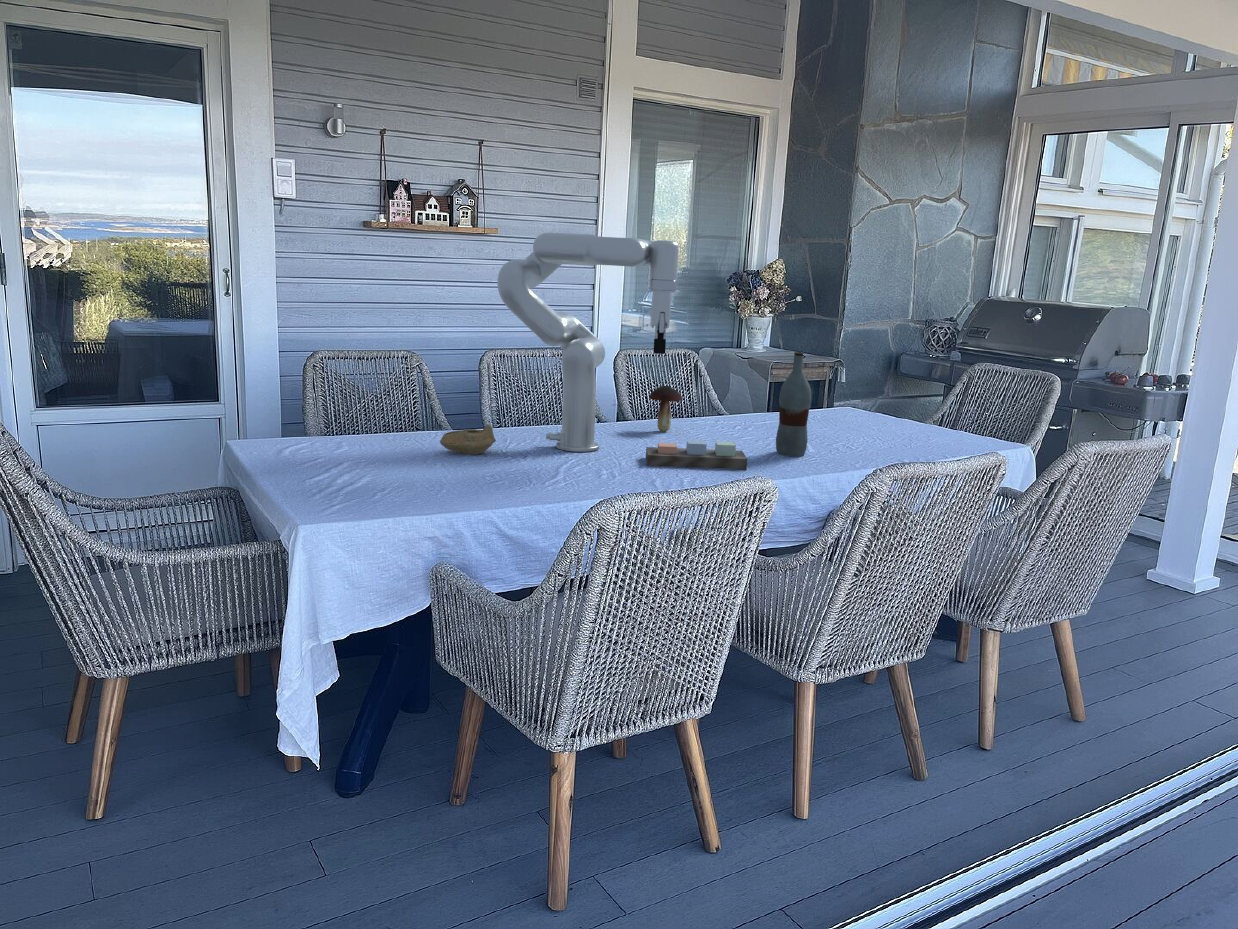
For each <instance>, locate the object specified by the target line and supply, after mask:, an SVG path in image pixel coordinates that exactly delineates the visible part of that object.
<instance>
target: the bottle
mask: <svg viewBox="0 0 1238 929" xmlns="http://www.w3.org/2000/svg"><path fill="white" fill-rule="evenodd" d="M804 353H805V352H802V351H794V353H793V354H794V355H793V364H792V365H793V366H792V371H791V372H790V373H789V375H788V376H787V378H786V380H784V382H782V385H781V388H780V391H779V397H778V402H779V404H778V406H779V408H778V409H779V412H778V413H779V414H778V415H779V416H778V417H779V418H778V419H779V420H778V421H779V422H778V427H777V432H776V437H775V449H776V453H777V454H778V455H781V456H786V457H804V455H805V453H806V451H807V446H808V443H809V442H808V420H809V419H808V418H809V413H810V407H811V403H812V389H811V385H810V383H809V382H808V380H807V377H806V376H805V373H804V372H803V363H804Z"/></svg>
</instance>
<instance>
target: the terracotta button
mask: <svg viewBox="0 0 1238 929" xmlns="http://www.w3.org/2000/svg"><path fill="white" fill-rule="evenodd" d="M657 447H658V450H657V453H660V454H677V448H678V446H677V443H673V442H671V443H670V442H657Z"/></svg>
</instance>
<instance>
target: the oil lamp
mask: <svg viewBox="0 0 1238 929" xmlns="http://www.w3.org/2000/svg"><path fill="white" fill-rule="evenodd" d="M493 430H494V429H493V427H492V425H491V424H486V425H485V426H484V427H483V429H475V428H473V429H472V428H468V429H467V428H466V429H460V430H453V431H448V432H445V433H444V434H443V435H442V437H441V439H440V441H439V442H440V445H441V446H442V447H444V448H445V450H449V451H452V452H453V451H454V452H459V453H460V454H462V455H465V454H470V455H469V456H476V454H477V455H481V454H483V453H485V452H486V451H487V450H488V449H489V448H491V447H492V445H493V443H495V442H496V441H497V440H496V438H495V436H494V431H493Z"/></svg>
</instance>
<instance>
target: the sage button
mask: <svg viewBox="0 0 1238 929" xmlns="http://www.w3.org/2000/svg"><path fill="white" fill-rule="evenodd" d="M736 445H737V444H735V442H734V441H719V440H715V445H714V450H715V455H716V456H735V451H737V450H736V448H737V446H736Z"/></svg>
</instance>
